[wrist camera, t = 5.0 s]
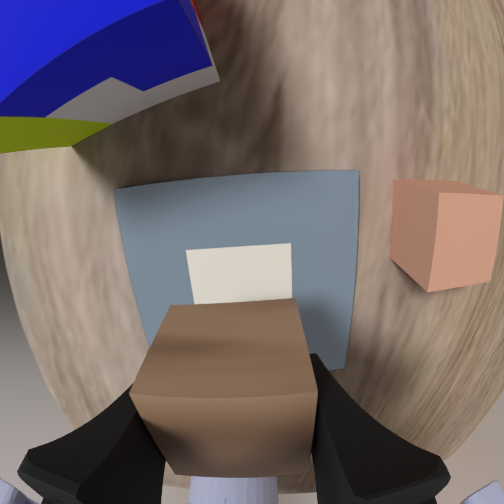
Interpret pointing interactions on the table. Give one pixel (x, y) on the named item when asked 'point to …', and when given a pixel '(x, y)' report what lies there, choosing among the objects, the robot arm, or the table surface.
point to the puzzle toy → (93, 65)
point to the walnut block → (230, 390)
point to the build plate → (247, 247)
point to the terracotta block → (444, 232)
